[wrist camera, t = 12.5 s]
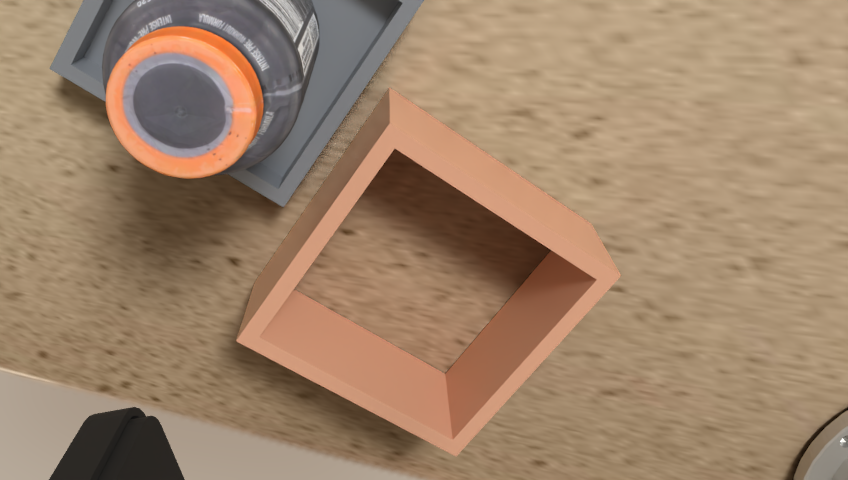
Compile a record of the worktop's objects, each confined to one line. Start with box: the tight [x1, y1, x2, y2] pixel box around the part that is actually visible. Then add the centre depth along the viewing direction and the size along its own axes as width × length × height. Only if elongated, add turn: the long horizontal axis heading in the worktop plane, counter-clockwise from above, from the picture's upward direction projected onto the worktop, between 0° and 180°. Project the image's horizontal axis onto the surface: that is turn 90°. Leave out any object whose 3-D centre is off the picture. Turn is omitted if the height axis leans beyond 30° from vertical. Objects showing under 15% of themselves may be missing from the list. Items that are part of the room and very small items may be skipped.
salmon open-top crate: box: [236, 88, 621, 456], centre depth 34 cm, size 11×11×5 cm
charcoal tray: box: [50, 0, 424, 207], centre depth 30 cm, size 10×10×2 cm
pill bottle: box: [102, 0, 320, 179], centre depth 25 cm, size 6×6×11 cm
